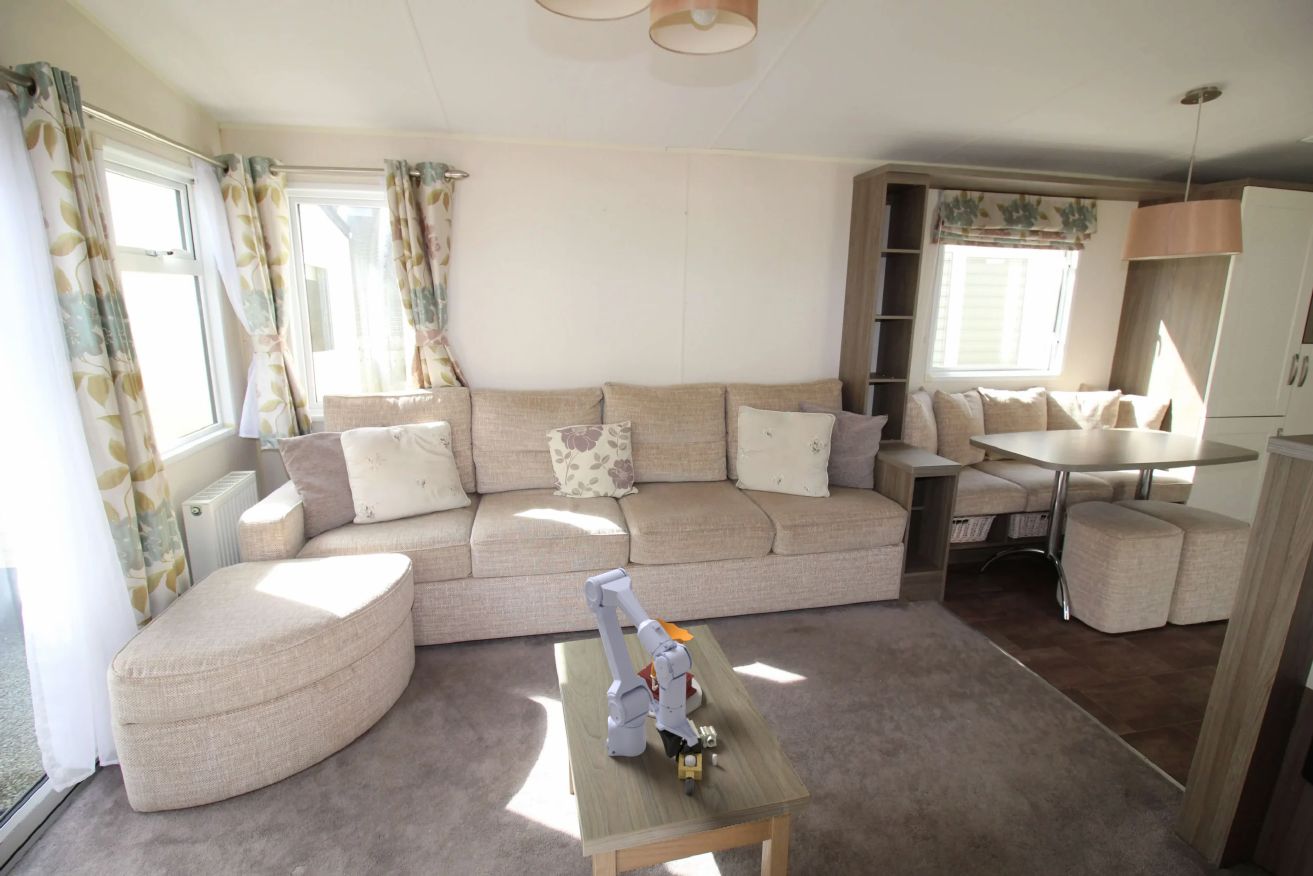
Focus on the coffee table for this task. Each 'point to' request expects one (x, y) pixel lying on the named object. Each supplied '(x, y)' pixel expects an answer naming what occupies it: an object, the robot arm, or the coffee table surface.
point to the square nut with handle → (690, 772)
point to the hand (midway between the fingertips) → (671, 754)
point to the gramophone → (691, 684)
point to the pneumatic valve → (698, 740)
